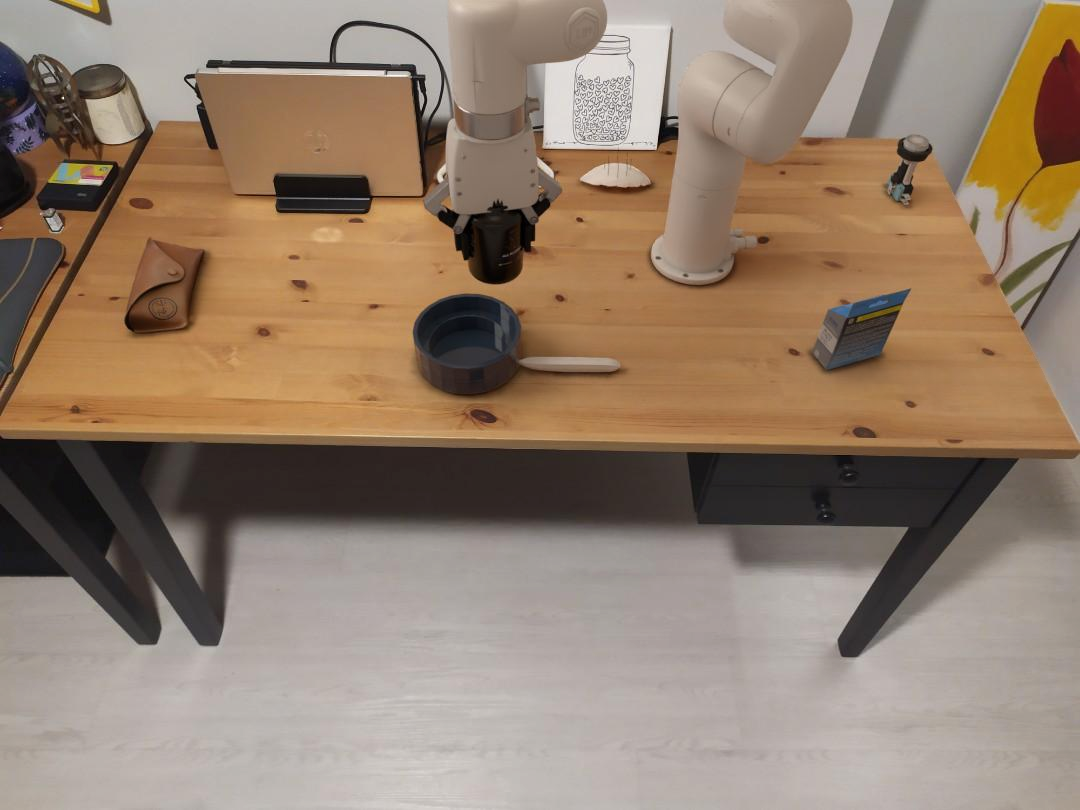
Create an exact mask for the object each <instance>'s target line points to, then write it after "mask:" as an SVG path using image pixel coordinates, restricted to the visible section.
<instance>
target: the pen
mask: <svg viewBox="0 0 1080 810" xmlns="http://www.w3.org/2000/svg"><path fill="white" fill-rule="evenodd" d="M519 364H520V365H521V366H522V367H525V368H527V369H531V370H536V371H547V372H559V373H560V372H562V373H613V372H615V371H617V370H619V369H620V368H621V364H620V363H619V361H618V360H616V359H614V358H611V357H594V356H593V357H591V356H589V357H588V356H586V357H585V356H529V357H525V358H523V359H522V358H521V360H520V361H519Z"/></svg>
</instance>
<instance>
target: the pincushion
mask: <svg viewBox="0 0 1080 810" xmlns="http://www.w3.org/2000/svg"><path fill="white" fill-rule="evenodd" d="M617 147H618V146H617ZM619 149H620V148H619V147H618V148H617V150H618V151H617V152H619ZM628 155H629V154H628V152H627V153H626V156H628ZM616 158H617V159H616V162H610V157H608V160H607V163H604V164H601V165H597V166H595V167H594V168H591V169H590V170H589V171H588V172H586V173H584V174H583V175H581V177H579V181H581V182H583V183H586V184H589V185H592V186H600V185H602V186H606V188H608V187H615V189H618V187H620V188H624V189H626V188H627V187H630V188H634V187H635V188H638V187H641V186H642V187H645V186H647V185H651V181H650V179H649V177H648V176H647V174H646V173H644V172H643V171H642V170H640V169H638V168H637V167H635V166H633V165H632V164H629V163H628V160H625V161H626V163H621V162H618V160H619V156H617V157H616ZM632 159H633V158H631V159H630V161H632Z"/></svg>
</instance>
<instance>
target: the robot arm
mask: <svg viewBox="0 0 1080 810" xmlns="http://www.w3.org/2000/svg"><path fill="white" fill-rule="evenodd" d="M446 12H447V14H446V16H447V29H448V42H449V43H448V44H449V45H448V46H449V56H450V57H449V58H450V70H451V84H452V85H451V86H452V99H453V111H454V112H453V114H454V117H453V118H451V119H450V120H449V121H448V123H447V129H446V138H445V178H444V179H443V180H442V181H441V182H440V183H438V185H436V186H435V187H434V188H433V189H432V190H431V191H430V192H429V193H428V194H426V195H425V197H423V200H422V202H423V206H424V209H425V210H426V211H427V212H429V213H430V214H431V215H433V216H434V217H437V219H438V221H439V222H441V223H442V224H444V225H445V226H446V227H448V228H450V229H452V231H453V237H454V246H455V251H456V252H461V254H462V258H463V261H464V262H465V261H468V259H470V255H469V240H468V232H467V228H466V224H467V222H468V220H469V218H470V216H471V214H479V213H487V212H491V211H487V209H488V208H490V207H492V206H493V202H494V201H495V203H496V202H497V199H499V203H501V201H502V202H503V206H507V207H508V209H505V210H512V209H519V208H520V209H521V210H522V212H523V252H525V253H532V242H533V243H534V242H535V241H536V224H538V223H539V221H540V219H539V218H540V217H541V216H542V215H543V214H545V213H546V211H548V210H549V209H550V207H551V205H552V203H553V202H554V201H555V200H556V199H557V198H558V197H559V196H560V195H561V194H562V192H563V188H562V185H561V183H560V181H558V180H556V179H555V178H553V177H552V176H551V175H550V174H548V173H546V172H544V171H543V170H541V169H540V168H539V164H538V154H537V146H536V145H537V144H536V138H535V137H536V136H535V132H534V128H533V123H532V120H531V117H530V114H533V112H538V111H540V107H541V106H540V99H539V97H532V96H528V94H527V67H528V66H530V65H540V64H542V65H543V64H554V63H555V64H556V63H563V62H564V63H565V62H571V61H574V60H578V59H580V58H582V57H584V56H586V55H588V54H589V53H590V52H592V51H593V50H594V49H595V48H596V47H597V46H598V44H599V43H600V42H601V41H602V39H603V37H604V35H605V33H606V30H607V24H608V10H607V7H606V3H605V2H604V0H448V1H447V8H446ZM853 17H854V16H853V11H852V8H851V5H850V3H849V1H848V0H727V2H726V5H725V7H724V11H723V16H722V25H723V29H724V31H725V33H726V35H727V36H729V38H730V39H731V40H733V41H734V42H735V43H737V44H738V45H740V46H742V47H743V48H745V49H747V50H748V51H750V52H751V53H753V54H755V55H757V56H759V57H761V58H762V59H764V60H766V61H768V62H770V63H772V64H774V65H775V67H774V70H773V73H772V75H771V74H769V73H768V72H766V71H764V69H762V68H759V67H758V66H757V65H754V64H753V63H751V62H749V61H747V60H745V59H744V58H742V57H740V56H737V55H735V54H733V53H730V52H727V51H722V50H711V51H707V52H704V53H701V54H699V55H698V56H696V57H695V58H694V59H693V60H692V61H691V62H690V63H689V64H688V66H687V67H686V68H685V70H684V72H683V74H682V76H681V78H680V81H679V85H678V90H677V101H676V102H677V119H678V120H677V121H678V135H677V136H678V137H677V138H678V139H677V148H676V155H675V163H674V166H673V167H674V168H673V173H672V174H673V175H672V181H671V188H670V194H669V200H668V207H667V213H666V219H665V224H664V225H665V227H664V232H663V234H661V235H660V236H658V237H657V238H656V239H655V240H654V242H653V243H652V247H651V251H650V257H651V259H650V260H651V262H652V264H653V266H654V267H655V269H656V270H657V271H658V272H659V273H660V274H662V275H663V276H664V277H666V278H667V279H670V280H672V281H674V282H678V283H679V284H680V283H681V284H686V285H691V286H692V285H693V286H701V285H702V286H703V285H710V284H713V283H717V282H719V281H721V280H722V279H724V278H726V277H727V276H728V275H729V274H730V272H731V271H732V269H733V266H734V262H735V256H734V254H735V253H738V251H739V250H750V249H751V250H752V249H756V248H757V246H758V239H757V236H756V235H754V234H753V235H745V236H744V232H743V229H742V228H741V227H740V228H733V229H732V224H733V219H734V216H735V210H736V207H737V202H738V198H739V194H740V189H741V184H742V180H743V176H744V173H745V167H746V160H747V159H749V160H751V161H753V162H755V163H757V164H762V165H771V164H774V163H776V162H779V161H781V160H782V159H783V158H785V157H786V156H787V155H788V154H789V153H790V152H791V151H792V150H793V148H794V147H795V146H796V144H797V143H798V141H800V139H801V137H802V135H803V134H804V132H805V130H806V128H807V126H808V125H809V123H810V121H811V119H812V117H813V116H814V113H815V112H816V109H817V107H818V105H819V103H820V102H821V100H822V97H823V96H824V94H825V92H826V90H827V88H828V86H829V84H830V82H831V80H832V78H833V76H834V74H835V72H836V71H837V69H838V67H839V65H840V63H841V61H842V58H843V57H844V55H845V53H846V50H847V48H848V45H849V43H850V39H851V35H852V31H853V21H854V19H853ZM540 187H541V188H543V189H544V190H543V192H541V193H540ZM448 197H449V199H450V203H451V208H452V209H451V208H449V207H447V206H445V205H444V204H442V202H444V201H445V199H447V198H448Z"/></svg>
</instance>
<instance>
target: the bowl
mask: <svg viewBox="0 0 1080 810" xmlns="http://www.w3.org/2000/svg"><path fill="white" fill-rule="evenodd" d="M412 339H413V346H414V352H415V358H416V365H417V369H418V370H419V372H420V374H421V376H422V377H423V379H425V380H426V381H427V382H429V383H430V384H431V385H432V386H434V387H436V388H437V389H440V390H441V391H444V392H449V393H453V394H459V395H474V394H480V393H485V392H486V393H487V392H488V391H491V390H493V389H497V388H499V387H501V386H502V385H503V384H505V383H506V382H508V381H510V379H511V378H513V376H514V375H515V374H516V373H517V371H518V369H519V367H520V365H521V364H519V361H520V360H522V351H523V349H522V347H523V346H522V324H521V321H520V318H519V316H518V315H517V312H516V311H515V310H514V309H513V308H512V307H511V306H510V305H508V304H507V303H506V302H504V301H502V300H500V299H498V298H496V297H495V296H490V295H487V294H482V293H459V294H458V293H457V294H452V295H451V294H450V295H449V296H445V297H442V298H440V299H437V300H436V301H434V302H433V303H430V304H429V305H427V306H426V307H425V308H424V309H423V310H422V311H420V313H419V314H418V316H417V317H416V319H415V321H414V323H413V327H412Z"/></svg>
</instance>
